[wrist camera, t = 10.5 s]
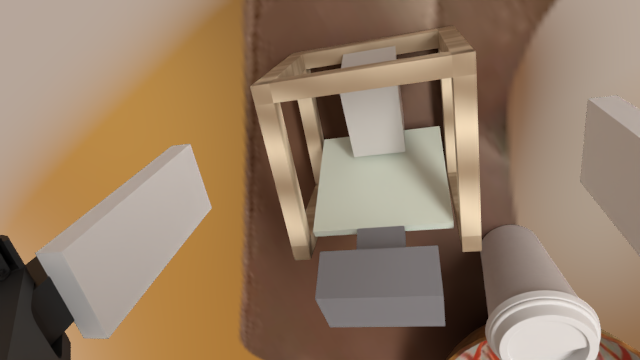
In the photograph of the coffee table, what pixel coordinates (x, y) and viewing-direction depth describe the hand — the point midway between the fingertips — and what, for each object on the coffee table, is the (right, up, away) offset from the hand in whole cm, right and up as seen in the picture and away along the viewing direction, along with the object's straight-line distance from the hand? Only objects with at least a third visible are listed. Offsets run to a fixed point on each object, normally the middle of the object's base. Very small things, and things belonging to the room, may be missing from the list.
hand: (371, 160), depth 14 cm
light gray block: (+4, +4, +29) cm, 29 cm away
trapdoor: (+4, -5, +25) cm, 26 cm away
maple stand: (+5, +6, +31) cm, 32 cm away
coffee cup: (+21, -9, +35) cm, 42 cm away
